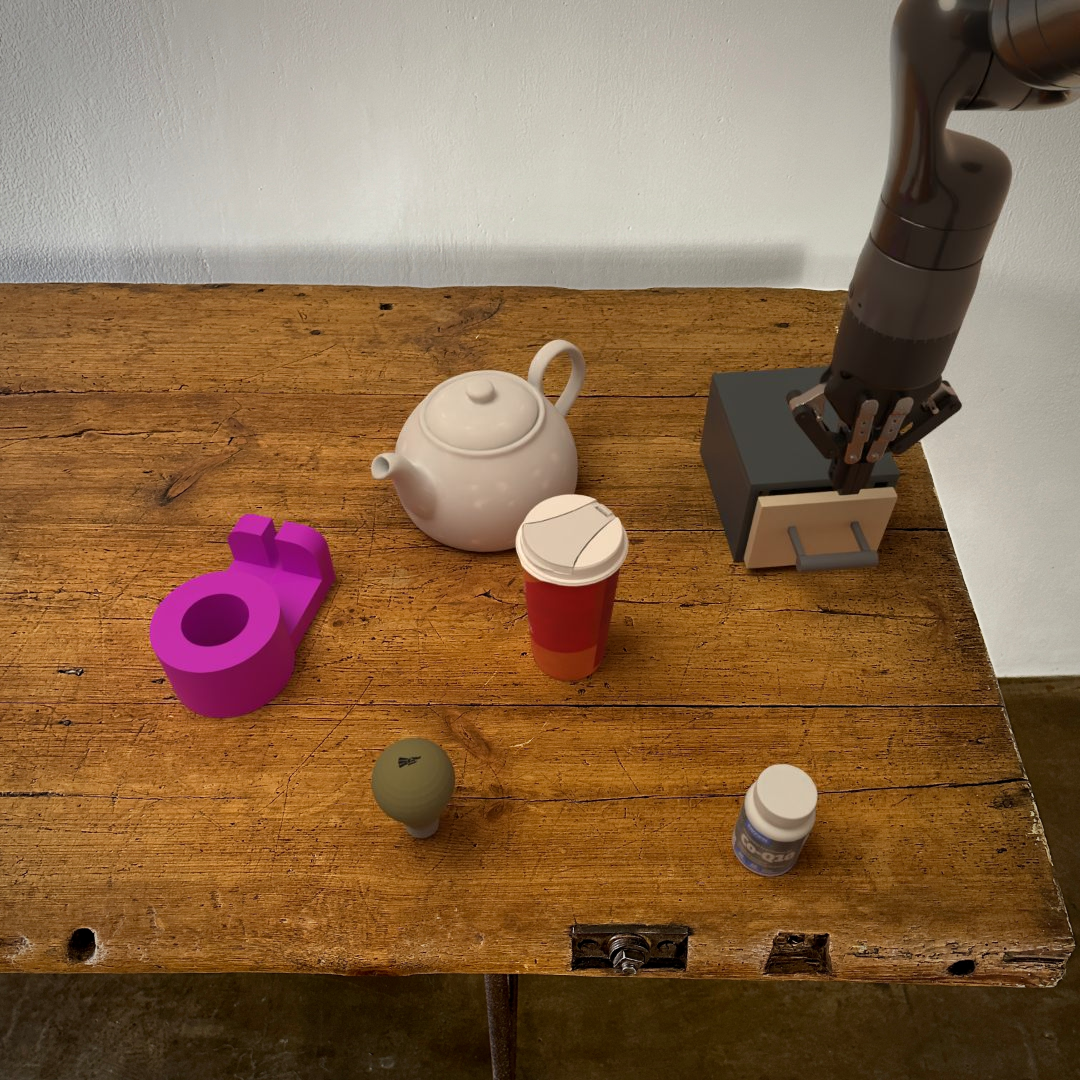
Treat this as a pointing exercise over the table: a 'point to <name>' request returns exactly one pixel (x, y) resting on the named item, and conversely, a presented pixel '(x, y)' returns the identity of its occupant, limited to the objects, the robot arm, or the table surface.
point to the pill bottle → (775, 820)
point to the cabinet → (764, 445)
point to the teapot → (485, 453)
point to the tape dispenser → (243, 618)
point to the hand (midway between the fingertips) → (845, 487)
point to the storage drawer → (819, 528)
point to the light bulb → (414, 784)
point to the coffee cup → (570, 581)
